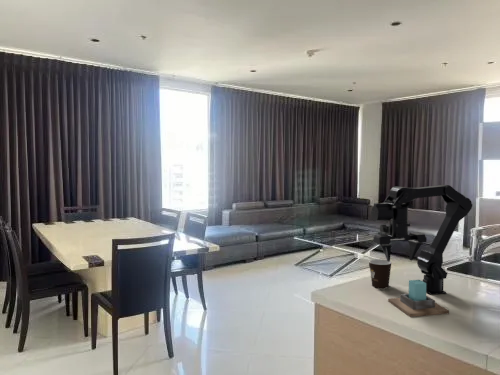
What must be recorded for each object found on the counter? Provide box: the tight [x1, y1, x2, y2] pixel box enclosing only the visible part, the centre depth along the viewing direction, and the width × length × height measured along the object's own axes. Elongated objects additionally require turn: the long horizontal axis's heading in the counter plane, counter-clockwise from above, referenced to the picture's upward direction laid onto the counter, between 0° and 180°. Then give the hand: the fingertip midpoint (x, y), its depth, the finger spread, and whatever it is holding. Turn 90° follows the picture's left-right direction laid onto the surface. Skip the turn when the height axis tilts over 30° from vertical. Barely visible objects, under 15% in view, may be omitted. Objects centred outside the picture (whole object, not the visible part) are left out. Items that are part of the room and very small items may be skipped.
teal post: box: [408, 279, 427, 301], centre depth 130 cm, size 4×4×8 cm
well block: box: [387, 293, 450, 318], centre depth 131 cm, size 14×14×4 cm
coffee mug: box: [368, 258, 392, 289], centre depth 155 cm, size 12×9×10 cm
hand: (399, 260), depth 143 cm, fingers open, 9 cm apart
